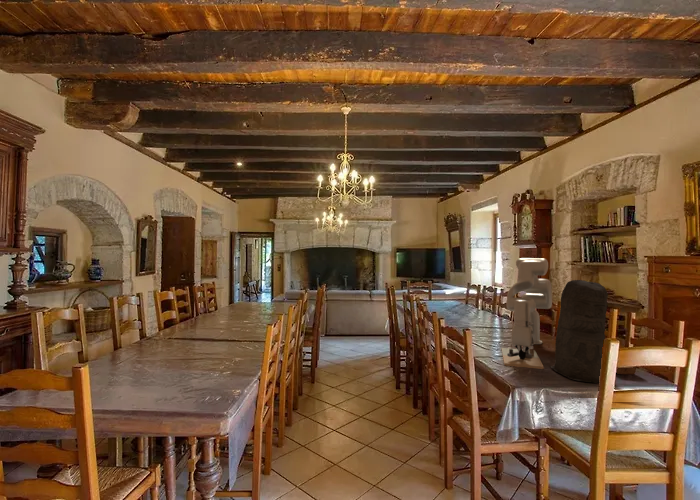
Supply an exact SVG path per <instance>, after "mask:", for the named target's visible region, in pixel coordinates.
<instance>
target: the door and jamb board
mask: <svg viewBox="0 0 700 500" xmlns="http://www.w3.org/2000/svg"><path fill="white" fill-rule="evenodd" d="M509 349H511V348H508V347H501V354H502V355H501V356H502V359H503V365H504V366H506V367H507V366H508V367H517V368H526V369H527V368H529V369H537V370H538V369H539V370H544V369H545V367H544V365H543V363H542V361H541V359H540V357H539V355H538V354H537V352H536V350H535V349H534V348H533V349H528V350H527V354H526V358H525V359H524V360H522V359H520V357H519V355H518V356H513V357H509V356H508V355H507V353H509ZM512 349H513V352H516V351H518V349H517V348H512ZM522 350H523V348H522Z"/></svg>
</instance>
